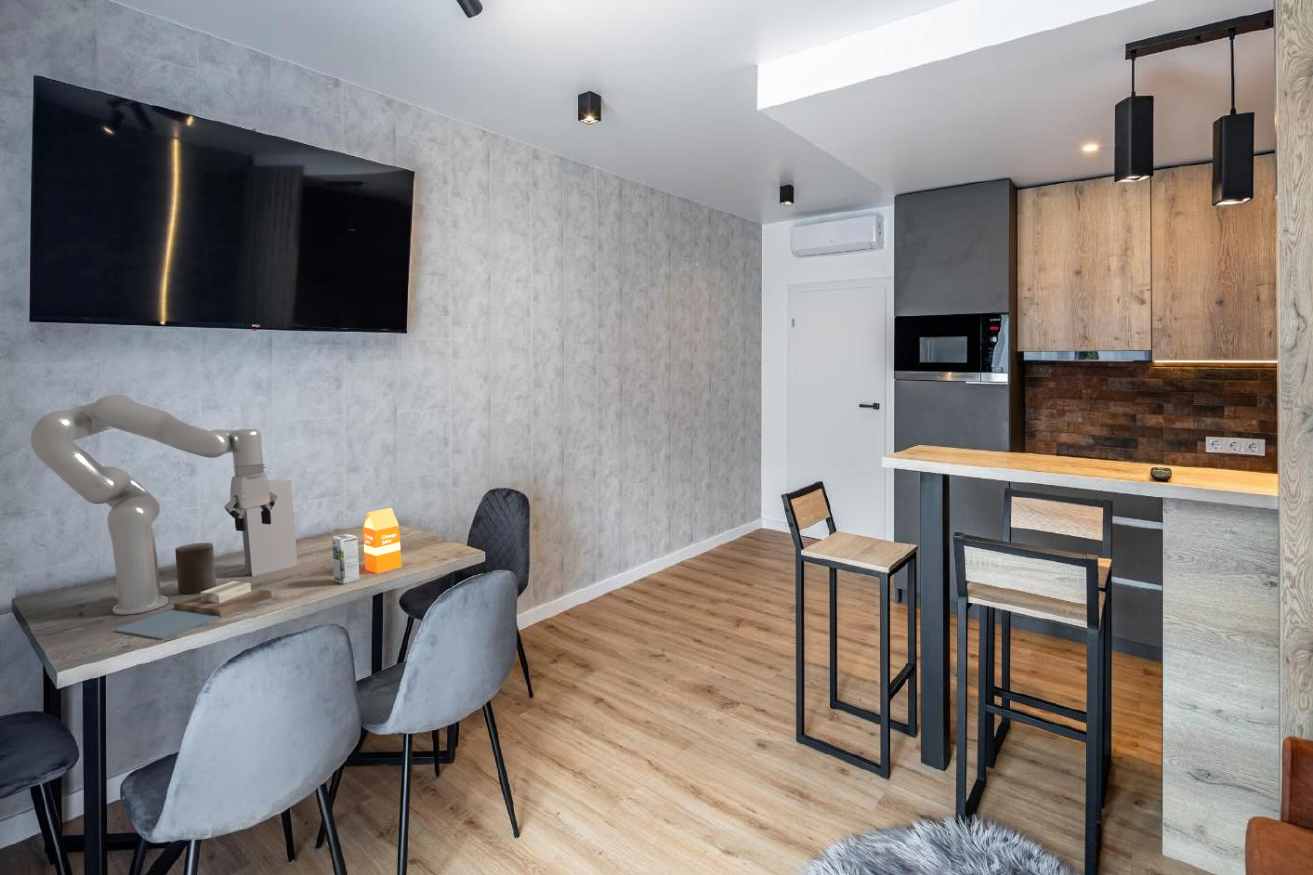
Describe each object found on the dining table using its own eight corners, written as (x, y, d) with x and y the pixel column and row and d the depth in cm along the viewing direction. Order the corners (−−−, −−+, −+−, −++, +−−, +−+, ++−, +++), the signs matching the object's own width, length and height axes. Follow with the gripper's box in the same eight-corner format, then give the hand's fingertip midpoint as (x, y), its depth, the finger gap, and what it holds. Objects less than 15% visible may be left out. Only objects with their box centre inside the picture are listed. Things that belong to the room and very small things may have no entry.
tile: (201, 600, 188) (200, 592, 188) (233, 589, 197) (233, 581, 197) (219, 603, 186) (218, 594, 185) (251, 591, 195) (250, 583, 195)
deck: (174, 610, 186) (173, 603, 186) (227, 591, 201) (226, 585, 201) (220, 617, 180) (219, 610, 180) (271, 597, 195) (271, 590, 195)
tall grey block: (291, 562, 230) (284, 478, 227) (297, 565, 226) (291, 480, 223) (245, 573, 219) (238, 484, 216) (252, 576, 216) (244, 486, 212)
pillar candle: (197, 595, 198) (193, 547, 196) (170, 593, 200) (166, 545, 198) (224, 585, 207) (220, 538, 206) (198, 583, 209) (194, 537, 208)
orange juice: (365, 569, 221) (361, 511, 219) (389, 562, 228) (386, 506, 226) (377, 573, 217) (373, 514, 214) (401, 566, 223) (398, 509, 221)
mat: (114, 631, 171) (113, 629, 171) (172, 610, 186) (172, 609, 186) (162, 639, 166) (162, 637, 166) (218, 617, 180) (218, 616, 180)
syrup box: (333, 581, 209) (330, 536, 208) (351, 576, 214) (348, 532, 212) (342, 584, 206) (339, 539, 204) (360, 579, 210) (357, 535, 209)
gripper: (265, 465, 207) (269, 519, 209) (212, 474, 190) (217, 533, 192) (283, 466, 204) (287, 521, 206) (231, 475, 188) (236, 535, 190)
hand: (253, 526), depth 199 cm, fingers open, 8 cm apart
